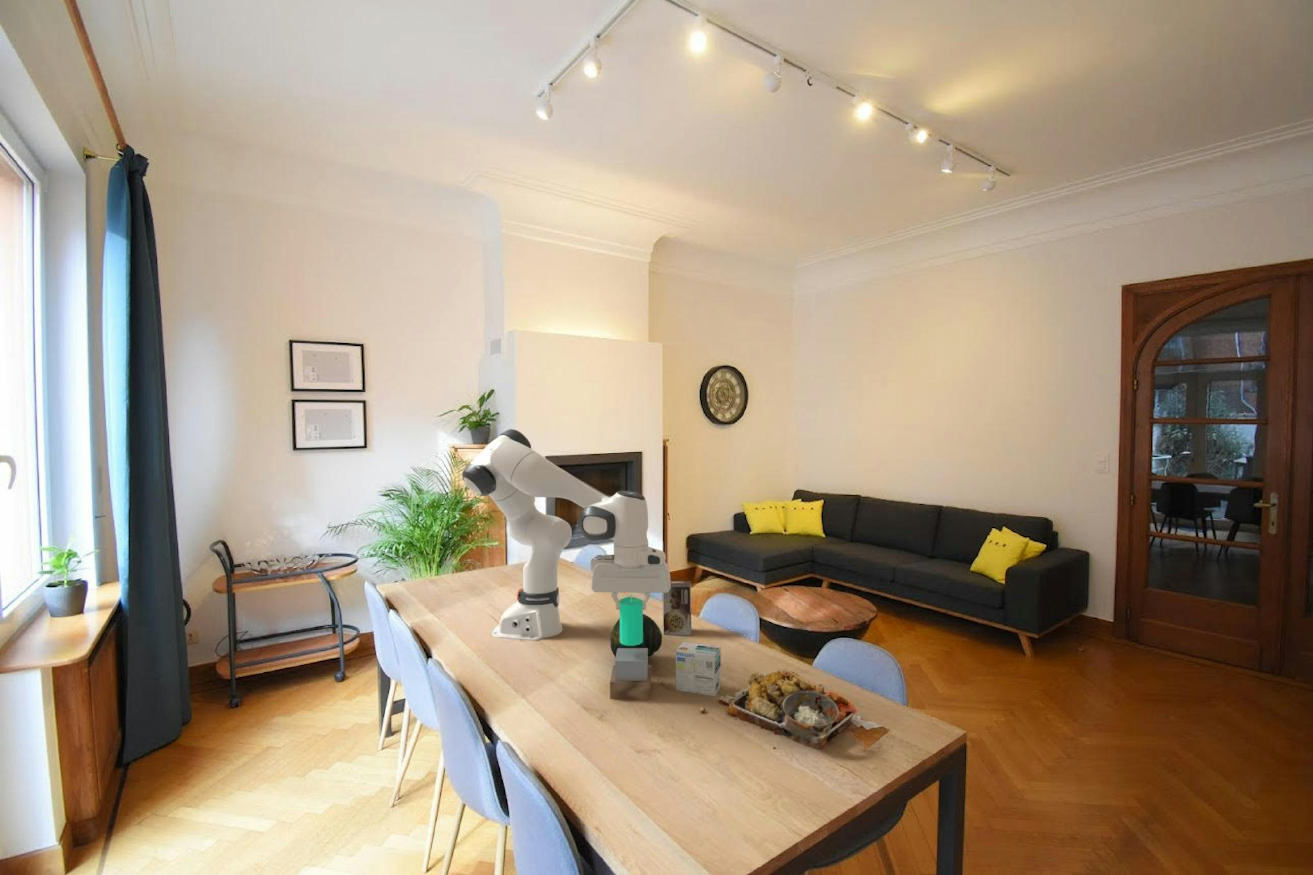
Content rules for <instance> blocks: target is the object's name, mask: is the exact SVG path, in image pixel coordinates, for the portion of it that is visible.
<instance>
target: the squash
mask: <svg viewBox="0 0 1313 875" xmlns="http://www.w3.org/2000/svg"><path fill="white" fill-rule="evenodd" d="M609 638H610V639H609V640H610V643H609V644H610V645H609V646H610V650H611V652H612V654H613V656H614V658H616V653H617V648H648V658H651V657H652V656H653V655H654V654H655V653H657V652H658V651H659V650H660V648H661V646H662V644H663V643H662V642H663V634H662V631H661V629H660V626H658V624H657V623H656V621H655V620H653V618H651V617H650V616H648V615H646V614H645V613H643V643H641V644H639V645H635V646H627V645H623V644H621V643H620V618H619V619H618V620H617V622H615V624H614V626H613V628H612V630H611V633H610V637H609Z"/></svg>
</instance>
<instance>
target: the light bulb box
mask: <svg viewBox="0 0 1313 875" xmlns="http://www.w3.org/2000/svg"><path fill="white" fill-rule="evenodd" d="M721 651H722V650H721V645H712V644H702V643H692V642H686V641H682V642H681V644H680V645H679V646H678V647H677V649H676V650H675V690H676V691H681V692H686V693H692V694H699V695H704V696H712V697H716V696H717V694H718V692H719V691H720V688H721V687H722V656H721V654H722V653H721Z"/></svg>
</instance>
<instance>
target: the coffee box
mask: <svg viewBox="0 0 1313 875" xmlns="http://www.w3.org/2000/svg"><path fill="white" fill-rule="evenodd" d="M670 582H671V589H670V590H669V592H667V593H662V608H663V609H662V611H663V612H662V615H663V616H662V617H663V620H662V622H663V625H662V626H663V628H662V630H663V634H664V636H691V635H692V632H693V631H692V584H691V582H692V581H688V580H685V581H684V580H680V581H679V580H670ZM663 634H662V635H663Z"/></svg>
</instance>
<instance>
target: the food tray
mask: <svg viewBox="0 0 1313 875" xmlns="http://www.w3.org/2000/svg"><path fill="white" fill-rule="evenodd" d="M787 668H788V667H785V668H783V669H782V670H778V671H776V672H774V671H773V672H770V673H767V674H764V673H763V672H759V673H758V672H752V673H750V677H749V679H748V684H749V685H748V686H747V688H743V689H742V690H739V691H737V692H734V693H733V696H734V697H733V696H729V695H728V694H726V696H725V695H721V696H720V697H719V699H718V701H717V703H718V704H719V705H722V706H727V707H728V708H727V710H726V711H725V712H726V713H725V714H726V715H728V716H735V717H736V718H735V719H734V721H738V720H737V719H739V720H740V721H742V722H743V721H744V722H747V723H750V724H753V725H755V726H757V727H760V729H761V730H762V729H764V730H767V731H769V732H770V731H773V734H774V735H776V736H777V735H778V736H786V738H787V739H789V740H792V741H793V742H795V743H799V744H801V745H803V746H806V747H809V748H813V749H820V750H824V749H823V747H826V745H828V743H830V742H831V741H832V742H834V739H835V740H837V739H838V738H837V736H838V735H839V734H845V733H847V732H850V737H852V738H853V739H854V740H857V743H858V744H860V747H859V748H860V749H859V750H862V751H863V752H865V751H866V750H867V749H869V748H870V747H871V746H872V745H874V743H875V742H876V741H878V740H879V739H880V738H881V737H882V736H883V735H885V734H886V733H887V732H888V731H890V728H887V727H885V726H882V725H880V724H878V723H876V722H874V721H867V720H864V719H862V718H861V715H855V714H856V713H857V712H858V710H857V709H856V707H855V704H854V703H853V702H852V701H849V700H848V699H847V698H846V697H845V696H844V695H842V694H841V693H839V692H836V691H835V690H830V691H825V685H824V684H823V683H820V684H817V685H816V684H813V683H812V682H810V681H809V680H808V679H806V678H804V677H803V676H802V675H800V674H799V673H798V672H796V671H795V670H793V669H787ZM700 710H701V711H700V712H701V713H704V712H706V709H705V707H704V706H702V707H700ZM851 724H852V725H853V727H854V728H853V727H850V725H851ZM744 726H746V724H745V723H744ZM853 742H854V741H853ZM854 743H855V742H854ZM772 748H773V749H774V750H777V748H776V747H775V746H773V747H772ZM855 755H856V754H855ZM856 756H858V755H856Z"/></svg>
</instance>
